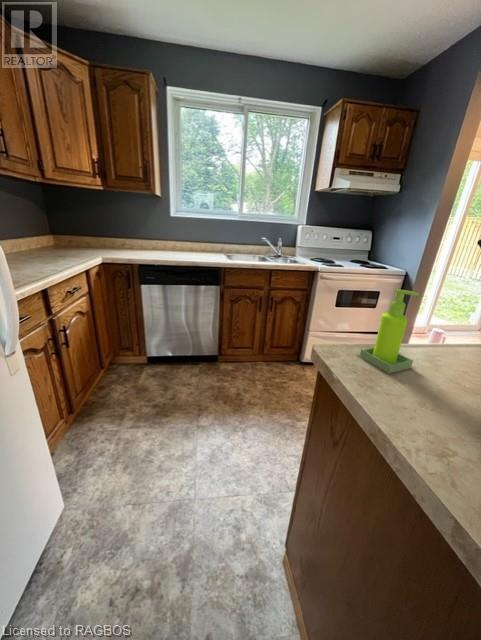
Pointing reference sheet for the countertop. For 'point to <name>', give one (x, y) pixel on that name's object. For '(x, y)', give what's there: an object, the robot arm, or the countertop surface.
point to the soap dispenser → (392, 329)
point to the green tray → (400, 364)
